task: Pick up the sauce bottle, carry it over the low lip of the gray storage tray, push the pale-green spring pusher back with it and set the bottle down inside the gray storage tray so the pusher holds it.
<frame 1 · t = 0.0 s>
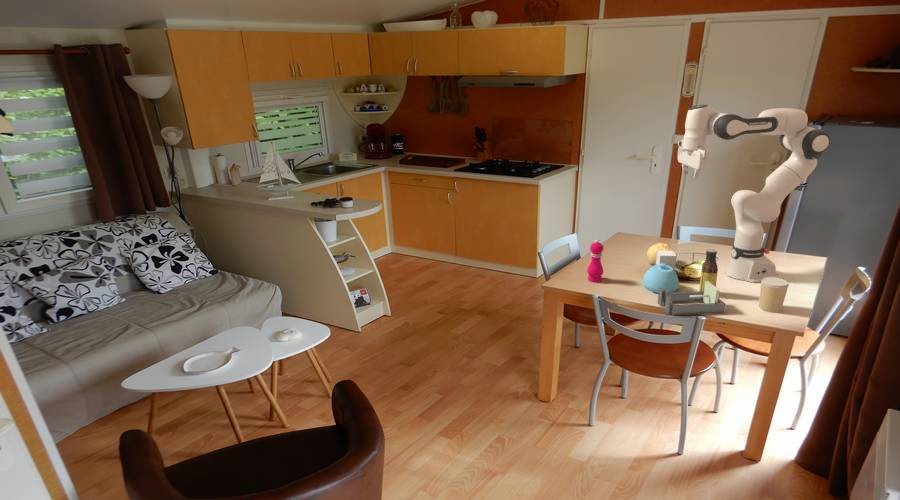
hand: (690, 176, 224), 48 cm above the table, fingers open, 8 cm apart
supplement box: (663, 278, 241), on the table
pepper mill: (594, 280, 242), on the table
blue upside-down bowl: (659, 288, 231), on the table
sauce bottle: (706, 294, 224), on the table
sculpture: (658, 264, 258), on the table
pusher: (701, 296, 211), point 5 cm above the table, slide at 0.0 cm
coffee cup: (769, 308, 209), on the table
gray storage tray: (689, 307, 212), on the table
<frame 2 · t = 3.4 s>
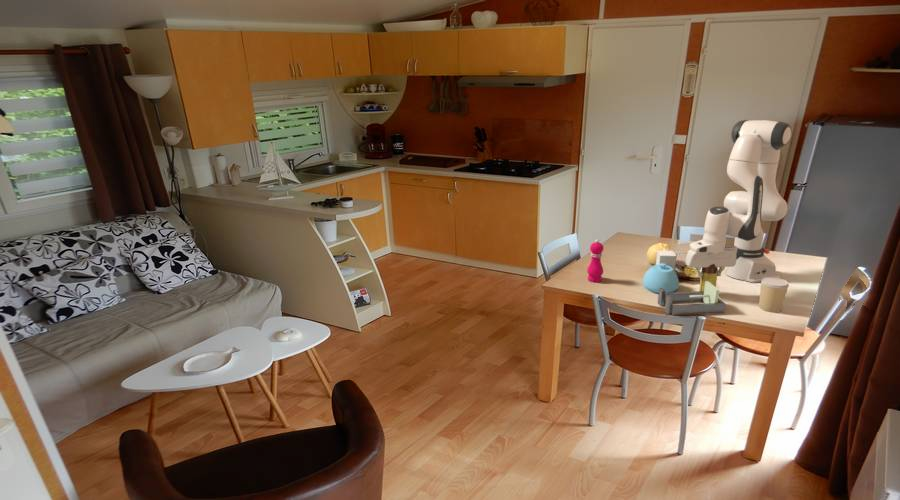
hand: (708, 276, 221), 8 cm above the table, fingers open, 6 cm apart
sauce bottle: (706, 294, 224), on the table, touching arm, gripper
everything else where it was.
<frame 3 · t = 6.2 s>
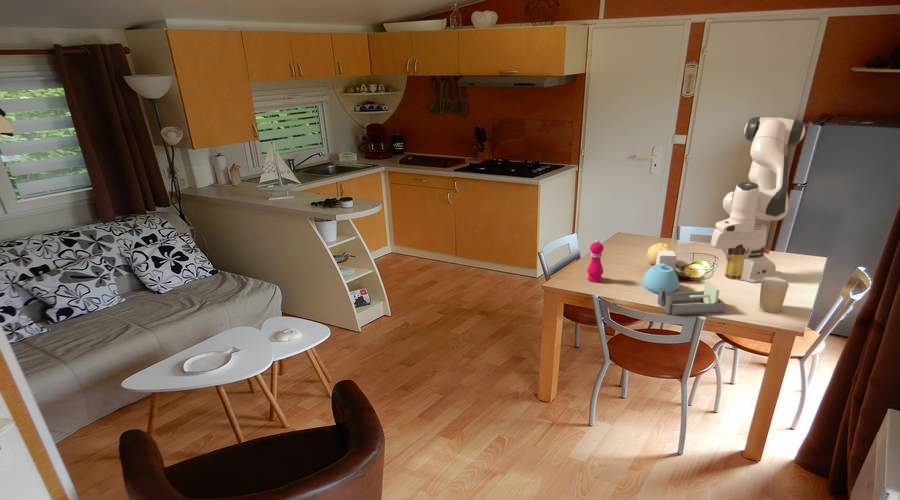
hand: (735, 257, 205), 21 cm above the table, fingers closed on sauce bottle, 6 cm apart
sauce bottle: (732, 277, 208), point 13 cm above the table, touching gripper
everything else where it was.
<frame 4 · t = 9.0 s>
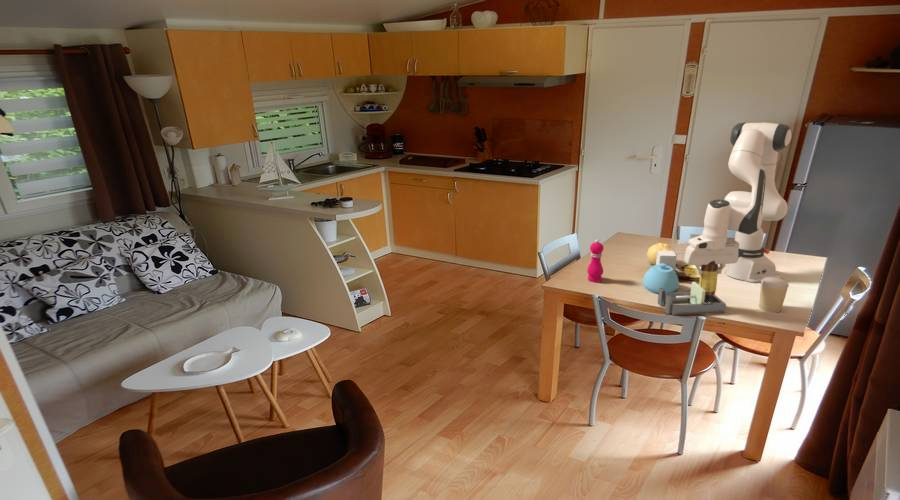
hand: (708, 273, 207), 15 cm above the table, fingers closed on sauce bottle, 6 cm apart
sauce bottle: (706, 293, 210), point 6 cm above the table, touching gripper, pusher
pusher: (687, 296, 211), point 5 cm above the table, slide at 5.6 cm, touching sauce bottle
everything else where it was.
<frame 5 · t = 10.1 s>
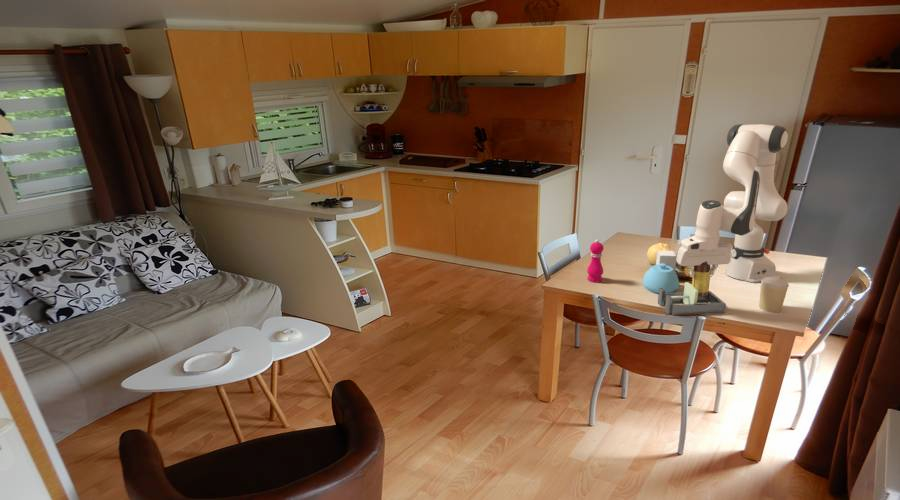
hand: (701, 274, 207), 15 cm above the table, fingers closed on sauce bottle, 6 cm apart
sauce bottle: (699, 294, 210), point 6 cm above the table, touching gripper
pusher: (680, 297, 211), point 5 cm above the table, slide at 8.5 cm
everything else where it was.
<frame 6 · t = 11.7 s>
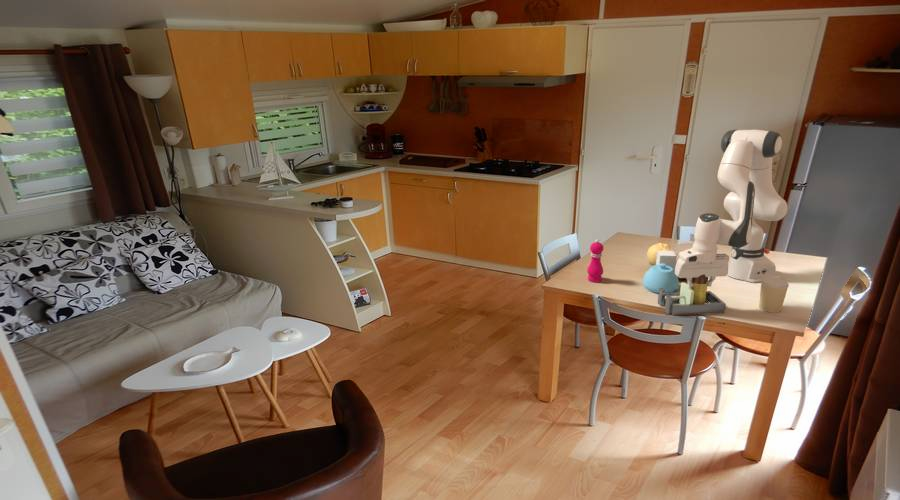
hand: (699, 286, 209), 9 cm above the table, fingers closed on sauce bottle, 6 cm apart
sauce bottle: (695, 305, 213), point 1 cm above the table, touching arm, gripper
pusher: (676, 297, 211), point 5 cm above the table, slide at 10.1 cm, touching gripper
everything else where it was.
when the fingers open (9 cm above the table, at t = 12.1 s): sauce bottle stays where it is, resting in gray storage tray.
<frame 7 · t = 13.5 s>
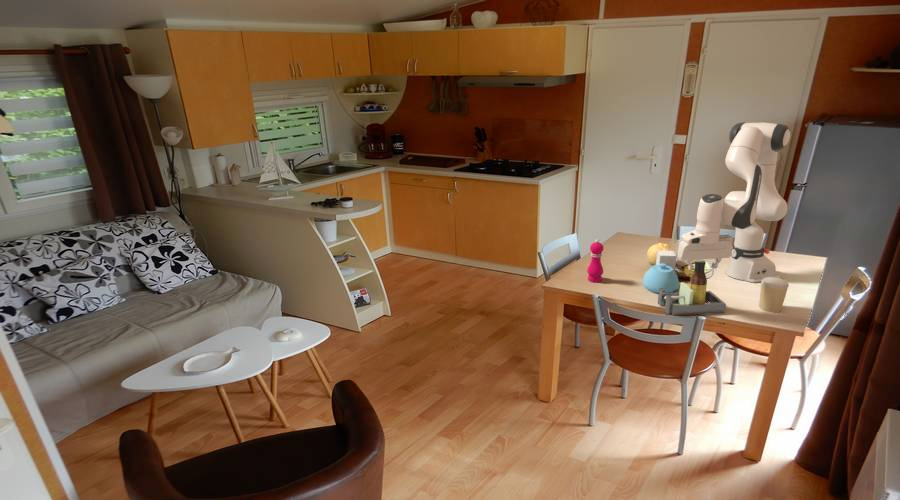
hand: (702, 268, 207), 17 cm above the table, fingers open, 8 cm apart
sauce bottle: (695, 306, 213), resting in gray storage tray
pusher: (676, 297, 211), point 5 cm above the table, slide at 10.4 cm
everything else where it was.
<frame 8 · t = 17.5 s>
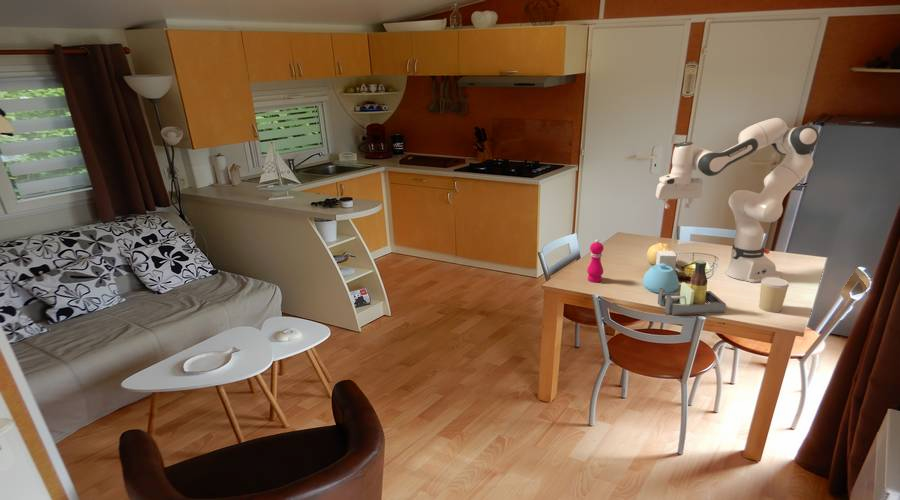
hand: (677, 207, 239), 31 cm above the table, fingers open, 8 cm apart
pusher: (676, 297, 211), point 5 cm above the table, slide at 10.0 cm
everything else where it was.
at the end: sauce bottle inside the target area (0.6 cm from its centre), resting in gray storage tray; sauce bottle tilted 1°; pusher slide at 10.0 cm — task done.
